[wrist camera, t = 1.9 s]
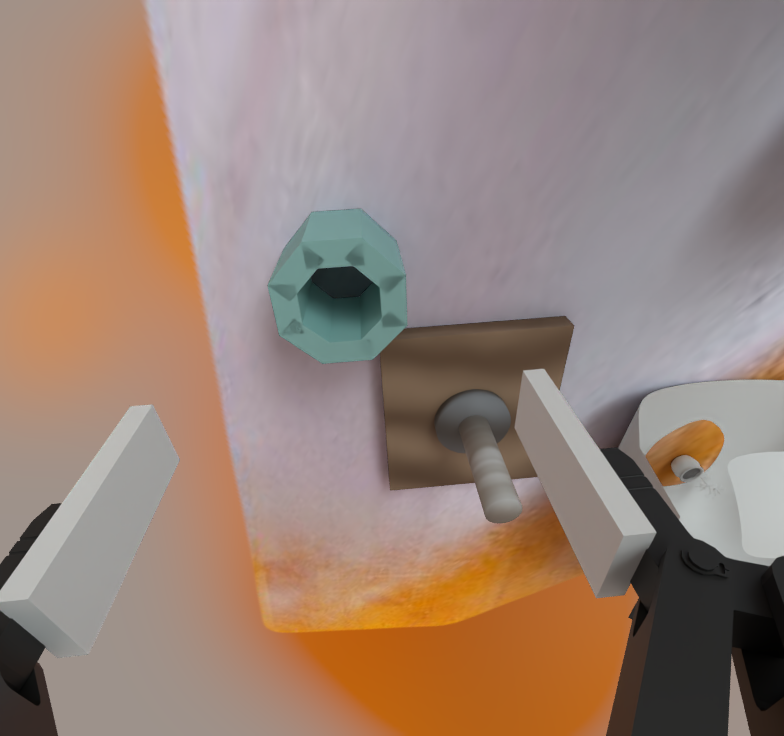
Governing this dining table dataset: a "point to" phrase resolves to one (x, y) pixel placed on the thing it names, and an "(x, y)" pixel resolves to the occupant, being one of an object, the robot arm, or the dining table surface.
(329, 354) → the collar
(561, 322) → the shaft board
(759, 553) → the bowl
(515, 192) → the dining table surface
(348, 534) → the dining table surface
